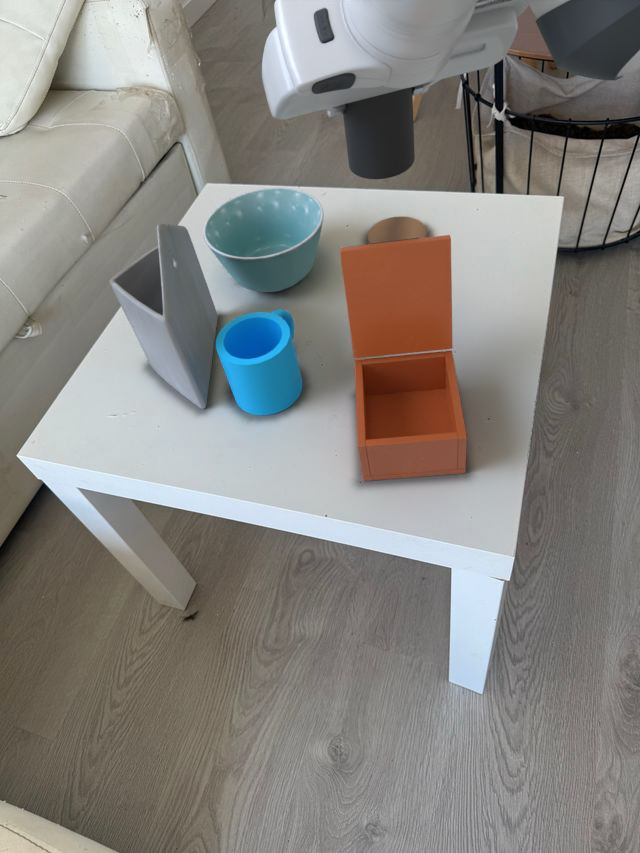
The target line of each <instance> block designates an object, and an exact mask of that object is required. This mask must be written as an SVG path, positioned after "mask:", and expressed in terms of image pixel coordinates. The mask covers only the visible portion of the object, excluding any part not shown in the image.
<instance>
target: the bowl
mask: <svg viewBox="0 0 640 853" xmlns="http://www.w3.org/2000/svg"><path fill="white" fill-rule="evenodd" d="M324 216H325V215H324V208H323V206H322V204H321V202H320V201H319V200H318V199H317V198H316V197H315V196H314V195H312V194H310V193H308V192H306V191H303V190H301V189H297V188H291V187H267V188H260V189H255V190H250V191H248V192H244V193H241V194H239V195H237V196H234V197H231V198H230V199H228V200H227V201H225V202H223V203H222V204H220V205H219V206H217V207H216V208H215V209H214V210H213V211H212V212H210V215H209V216H208V217H207V219H206V221H205V223H204V225H203V230H202V236H203V239H204V242H205V243H206V245H207V246H208V248H209V249H210V251H211V252H212V254H213V255H214V257H216V259H217V260H218V261H219V263H220V264H221V266H223V267H224V269H225V270H226V271H227V273H228V274H229V275H230V276H231V278H233V279H234V281H235V282H236V283H237V284H238V285H239V286H241V287H243V288H245V289H248V290H251V291H255V292H260V293H275V292H281V291H284V290H287V289H289V288H291V287H293V286H295V285H296V284H298V283H299V282H300V281H301V280H303V279H304V278H305V277H306V276H308V274H309V273H310V272H311V270H312V269H313V266H314V263H315V259H316V256H317V251H318V247H319V243H320V237H321V234H322V227H323V222H324Z"/></svg>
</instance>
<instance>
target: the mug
mask: <svg viewBox="0 0 640 853" xmlns="http://www.w3.org/2000/svg"><path fill="white" fill-rule="evenodd" d="M294 334H295V322H294V318H293V316H292V313H291V312H289V311H288V310H287V309H285V308H280V309H274V310H272V311H271V312H266V311H256V312H250V313H249V312H248V313H245V314H242V315H239V316H237V317H235V318H234V319H232V320H230V321H229V322H228V323H225V325H224V326H223V327H222V328H221V329H220V331H219V332H218V335H217V336H216V337H215V349H216V352H217V354H218V358H219V360H220V364H221V365H222V366H221V367H222V369H223V371H224V374H225V376H226V379H227V381H228V385H229V387H230V390H231V392H232V396H233V398H234V401H235V402H236V403H235V404H236V406H238V407H239V408H240V409H241V410H242V411H243V412H246V413H248V414H250V415H254V416H262V417H263V416H269V415H275V414H278V413H280V412H283V411H286V410H287V409H288V408H290V407H291V406H292V405H294V404H295V402H297V400H298V399H299V397H300V396H301V394H302V391H303V388H304V387H303V378H302V373H301V370H300V365H299V361H298V357H297V353H296V349H295V345H294V337H295V335H294Z"/></svg>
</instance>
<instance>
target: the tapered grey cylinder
mask: <svg viewBox="0 0 640 853" xmlns="http://www.w3.org/2000/svg"><path fill="white" fill-rule="evenodd" d="M413 98H414V96H413V95H412V87H410V88H406V89H402V90H398V91H394V92H390V93H386V94H382V95H378V96H374V97H371V98H367V99H363V100H359V101H355V102H351V103H347V104H346V110H345V113H344V114H342V116H343V118H342V119H343V125H344V134H345V142H346V152H347V161H348V168H349V171H350V172H351V173H353V175H355V176H357V177H359V178H362V179H367V180H385V179H389V178H393V177H396V176H399V175H401V174H404V173H405V172H407V171H408V170H410V168H412V166H413V165H414V162H415V157H416V156H415V131H414V130H415V128H414V127H415V126H414V125H415V124H414V100H413Z"/></svg>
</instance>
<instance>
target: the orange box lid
mask: <svg viewBox="0 0 640 853" xmlns="http://www.w3.org/2000/svg"><path fill="white" fill-rule="evenodd" d="M339 256H340V263H341V272H342V280H343V286H344V293H345V302H346V308H347V317H348V323H349V331H350V338H351V346H352V354H353V359H354V360H356V359H366V358H376V357H386V356H396V355H406V354H417V353H427V352H437V351H447V350H452V349H454V348H453V346H454V345H453V293H452V292H453V290H452V289H453V283H452V282H453V281H452V280H453V279H452V278H453V277H452V237H451V235H450V234H446V235H445V234H444V235H438V236H437V235H436V236H429V237H427V238H411V239H403V240H394V241H386V242H378V243H367V244H362V245H353V246H345V247H340V248H339Z"/></svg>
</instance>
